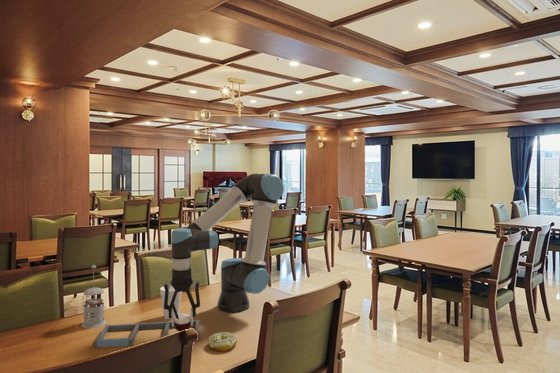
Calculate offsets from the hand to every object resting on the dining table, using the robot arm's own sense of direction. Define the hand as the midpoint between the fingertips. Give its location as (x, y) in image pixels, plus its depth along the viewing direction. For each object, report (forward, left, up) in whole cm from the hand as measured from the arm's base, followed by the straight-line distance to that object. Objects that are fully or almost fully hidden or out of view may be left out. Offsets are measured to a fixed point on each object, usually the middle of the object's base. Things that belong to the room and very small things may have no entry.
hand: (182, 325), depth 159 cm
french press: (+38, -17, -4) cm, 42 cm away
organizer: (+12, 0, -3) cm, 13 cm away
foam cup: (+6, -20, -4) cm, 21 cm away
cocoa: (0, 0, -2) cm, 2 cm away
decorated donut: (-16, +13, -4) cm, 21 cm away
